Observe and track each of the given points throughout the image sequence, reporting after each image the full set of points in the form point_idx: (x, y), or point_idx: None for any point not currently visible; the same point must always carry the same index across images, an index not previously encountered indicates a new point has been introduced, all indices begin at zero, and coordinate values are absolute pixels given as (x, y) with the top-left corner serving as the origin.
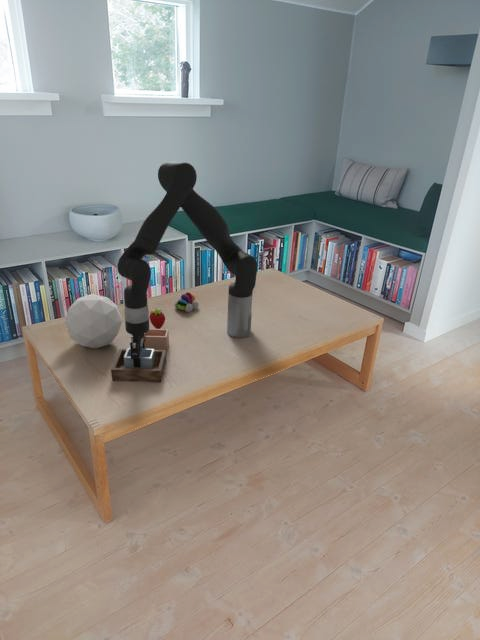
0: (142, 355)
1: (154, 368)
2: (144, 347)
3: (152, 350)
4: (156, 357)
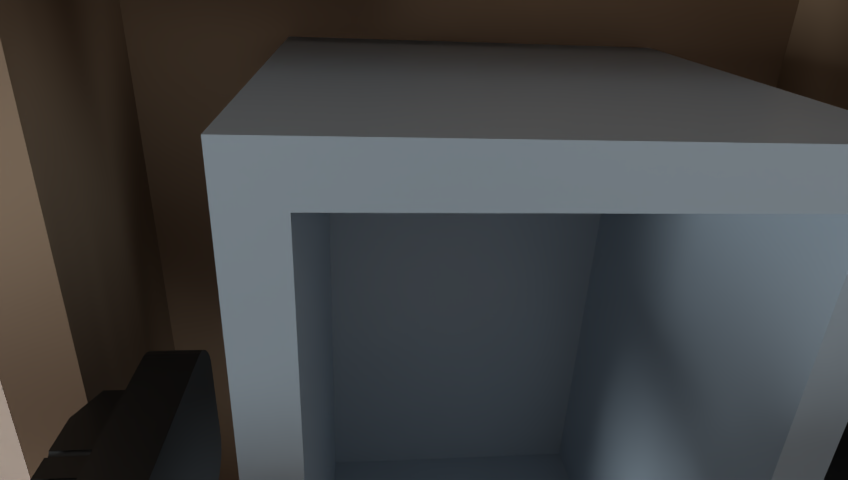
0: (322, 376)
1: (468, 21)
2: (124, 476)
3: (354, 187)
4: (97, 20)
